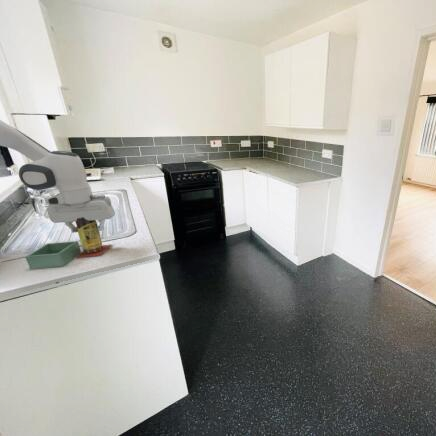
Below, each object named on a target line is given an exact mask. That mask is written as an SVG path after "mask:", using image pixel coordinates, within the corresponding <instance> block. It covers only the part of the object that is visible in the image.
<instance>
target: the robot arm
mask: <svg viewBox="0 0 436 436" xmlns="http://www.w3.org/2000/svg"><path fill="white" fill-rule="evenodd" d="M0 147H5V148H9V149H11V150H14V151H16V152H18V153H20V154H21V155H23V156H24V157H26V158H28V159H29V160H31V162H28V163H25V164H23V165H22V166H20V167H19V170H18V177H19V180H20V181H21V183H22V184H23V185H24V186H26V187H27V188H29V189H31V190H34V191H46V190H49V189H54V188H57V190H58V192H59V193H57V194H55V195H52V196H49V197H48V198H47V197H46V198H45V200H44V202H45V204H46V205H47V208H46V211H47V215H48V218H49V220H50V221H51V222H52V223H53V224H60V223H64V225H65V226H66V227H67V228H68V229H70V231H71V233H73V234H75V233H78V230H77V226H75V225H74V224H73V223H74V222H75V223H76V221H77V218H82V217H83V218H85V219H86V220H88V221H90V220H96V221H97V223H99V225H98V226H97V229H98V231H99V232H100V231H105V222H106V220H111V219H112V218H114V217H115V215H116V212H115V209H114V207H113V205H112V200H111V198H110V197H109V196H107V195H105V194H101V195H97V194H96V195H94V194H93V191H92V189H91V186H90V183H89V182H88V179H87V178H88V175H87V172H86V168H85V166H84V164H83V163H84V162H83V161H82V159H81V157H80V156H79V155H78V154H77V153H75V152H72V151H67V150H52V151H50V150H49V149H47V148H46V147H44V145H42V144H40V143H38V142H37V141H35V140H34V139H32V138H31V137H30V136H28V135H27V134H25V133H24V132H22V131H20V130H19V129H17V128H16V127H13V126H11V125H10V124H8V123H6V122H5V121H3V120H1V119H0Z"/></svg>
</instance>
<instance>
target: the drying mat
mask: <svg viewBox="0 0 436 436" xmlns="http://www.w3.org/2000/svg"><path fill="white" fill-rule="evenodd" d="M111 247H112V244H104V245H103V244H102V249H101V250H100V251H98V252H94V253H84V251H81V253H80V254H79V255H78V256H76V259H80V258H92V257H101V256H102V255H103V254H104V253H105V252H106V251H107V250H109V249H110V248H111Z"/></svg>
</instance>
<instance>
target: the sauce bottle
mask: <svg viewBox="0 0 436 436" xmlns="http://www.w3.org/2000/svg"><path fill="white" fill-rule="evenodd" d="M75 225H76V227H77V230H78V232H77V234H78V237H79V241H80V245H81V248H82V250H83V251H84V253H94V252H98V251H100V250H101V249H102V245H103V243H102V238H101V234H100V231H98V229H97V226H99V225H98V221H97V220H90V221H88V220H86V219H85V218H83V217H82V218H77V221H76V222H75ZM83 251H82V252H83Z"/></svg>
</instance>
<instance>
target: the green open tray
mask: <svg viewBox="0 0 436 436" xmlns="http://www.w3.org/2000/svg"><path fill="white" fill-rule="evenodd" d="M81 253H82V249H81V247H80V243H79V240H78V241H77V240H75V241H74V240H73V241H63V242H62V241H61V242H50V243H46V244H44V245H43V246H41V247H39V248H37V249H36V250H34V251H32V252H30V253H29V254H27V255H25V257H24V258H25V260H26V262H27V265H28V267H29V269H30V270H37V269H38V270H39V269H49V268H58V267H65V266H66V265H67V264H69V263H70V262H71V261H72V260H74V259H75V258H77V256H78V255H79V254H81Z"/></svg>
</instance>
